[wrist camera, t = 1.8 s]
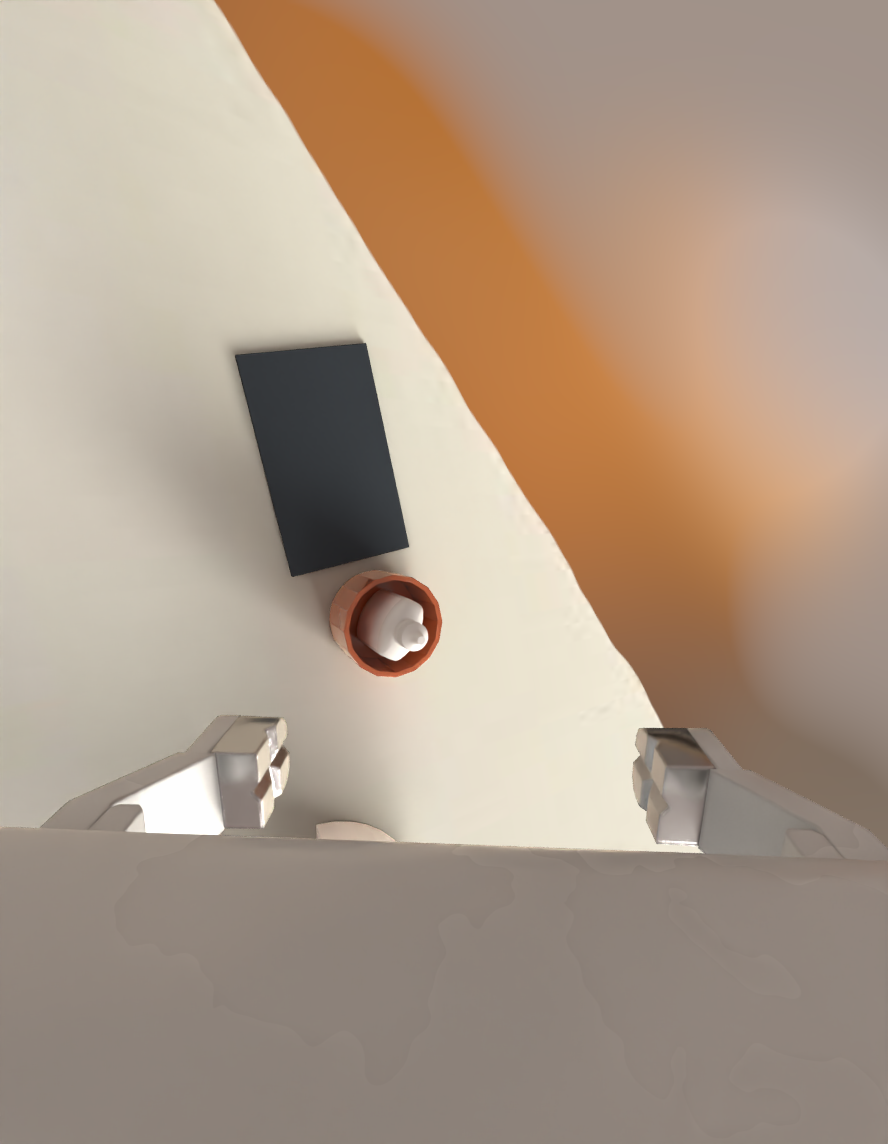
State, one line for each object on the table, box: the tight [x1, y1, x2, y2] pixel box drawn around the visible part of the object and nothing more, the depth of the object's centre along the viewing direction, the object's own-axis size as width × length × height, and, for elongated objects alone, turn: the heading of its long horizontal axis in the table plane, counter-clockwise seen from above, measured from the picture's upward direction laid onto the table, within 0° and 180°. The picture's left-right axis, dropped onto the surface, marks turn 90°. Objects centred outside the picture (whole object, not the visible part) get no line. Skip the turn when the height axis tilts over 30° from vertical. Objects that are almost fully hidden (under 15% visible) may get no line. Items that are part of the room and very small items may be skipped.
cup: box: [329, 570, 442, 677], centre depth 51 cm, size 9×9×6 cm
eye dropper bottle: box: [357, 589, 428, 661], centre depth 48 cm, size 4×6×12 cm
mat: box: [235, 343, 409, 577], centre depth 50 cm, size 20×12×1 cm, turn 13°
